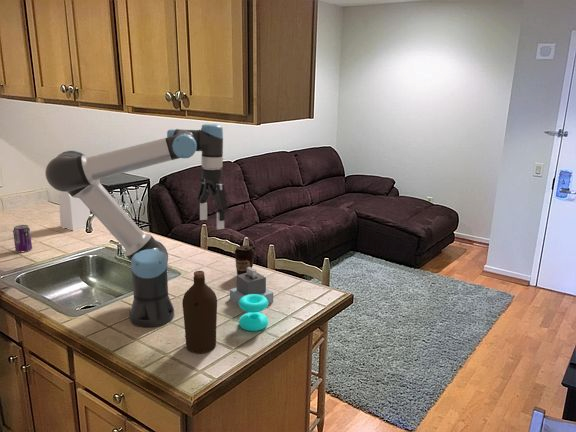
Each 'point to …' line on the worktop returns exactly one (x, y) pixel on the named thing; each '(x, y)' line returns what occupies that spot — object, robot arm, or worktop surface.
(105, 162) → the robot arm
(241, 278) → the grey block
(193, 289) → the olive oil
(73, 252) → the worktop surface
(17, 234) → the beverage can
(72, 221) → the milk
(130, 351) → the worktop surface
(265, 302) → the donuts
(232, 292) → the base
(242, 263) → the coffee cup
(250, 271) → the post
